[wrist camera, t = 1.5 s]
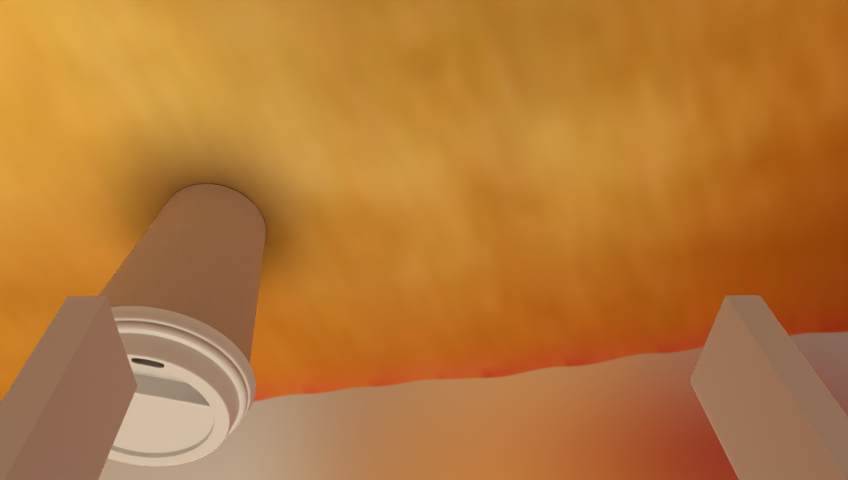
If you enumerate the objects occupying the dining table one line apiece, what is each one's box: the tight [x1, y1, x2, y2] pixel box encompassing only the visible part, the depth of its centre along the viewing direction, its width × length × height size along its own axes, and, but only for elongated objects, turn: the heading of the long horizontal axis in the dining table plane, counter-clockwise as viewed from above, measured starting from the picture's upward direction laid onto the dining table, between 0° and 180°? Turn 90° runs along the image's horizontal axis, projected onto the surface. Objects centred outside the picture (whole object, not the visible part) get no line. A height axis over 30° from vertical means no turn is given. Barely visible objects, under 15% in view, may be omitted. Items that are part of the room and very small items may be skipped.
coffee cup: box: [99, 184, 266, 466], centre depth 34 cm, size 10×10×15 cm
